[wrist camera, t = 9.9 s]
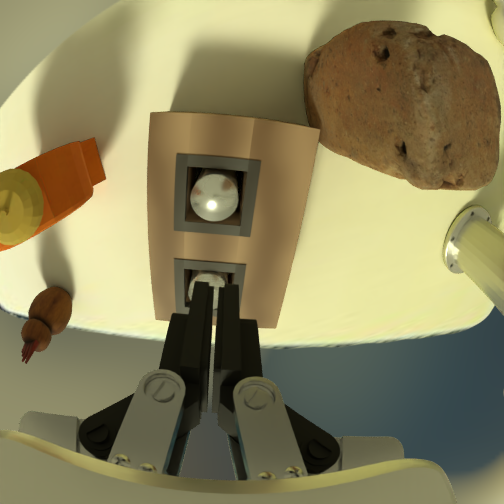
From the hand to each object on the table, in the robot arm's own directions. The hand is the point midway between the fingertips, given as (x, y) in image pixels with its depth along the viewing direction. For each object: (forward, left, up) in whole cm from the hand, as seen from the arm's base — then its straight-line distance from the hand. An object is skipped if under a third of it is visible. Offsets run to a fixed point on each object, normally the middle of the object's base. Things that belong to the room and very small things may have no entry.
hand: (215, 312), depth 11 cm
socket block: (0, +4, -21) cm, 22 cm away
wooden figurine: (+26, +20, -22) cm, 39 cm away
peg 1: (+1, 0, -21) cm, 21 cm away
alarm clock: (+20, 0, -22) cm, 29 cm away
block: (-10, -11, -22) cm, 26 cm away
